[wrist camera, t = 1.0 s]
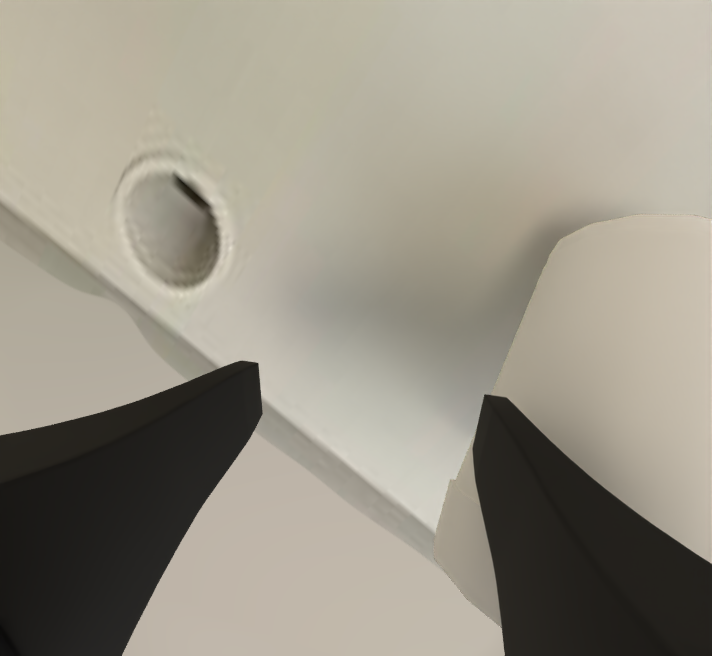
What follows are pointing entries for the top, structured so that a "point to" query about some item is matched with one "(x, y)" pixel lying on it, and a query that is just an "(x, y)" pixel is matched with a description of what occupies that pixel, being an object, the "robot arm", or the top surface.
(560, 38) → the top surface
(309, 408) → the top surface
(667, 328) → the foam cup
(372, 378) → the top surface
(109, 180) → the top surface
